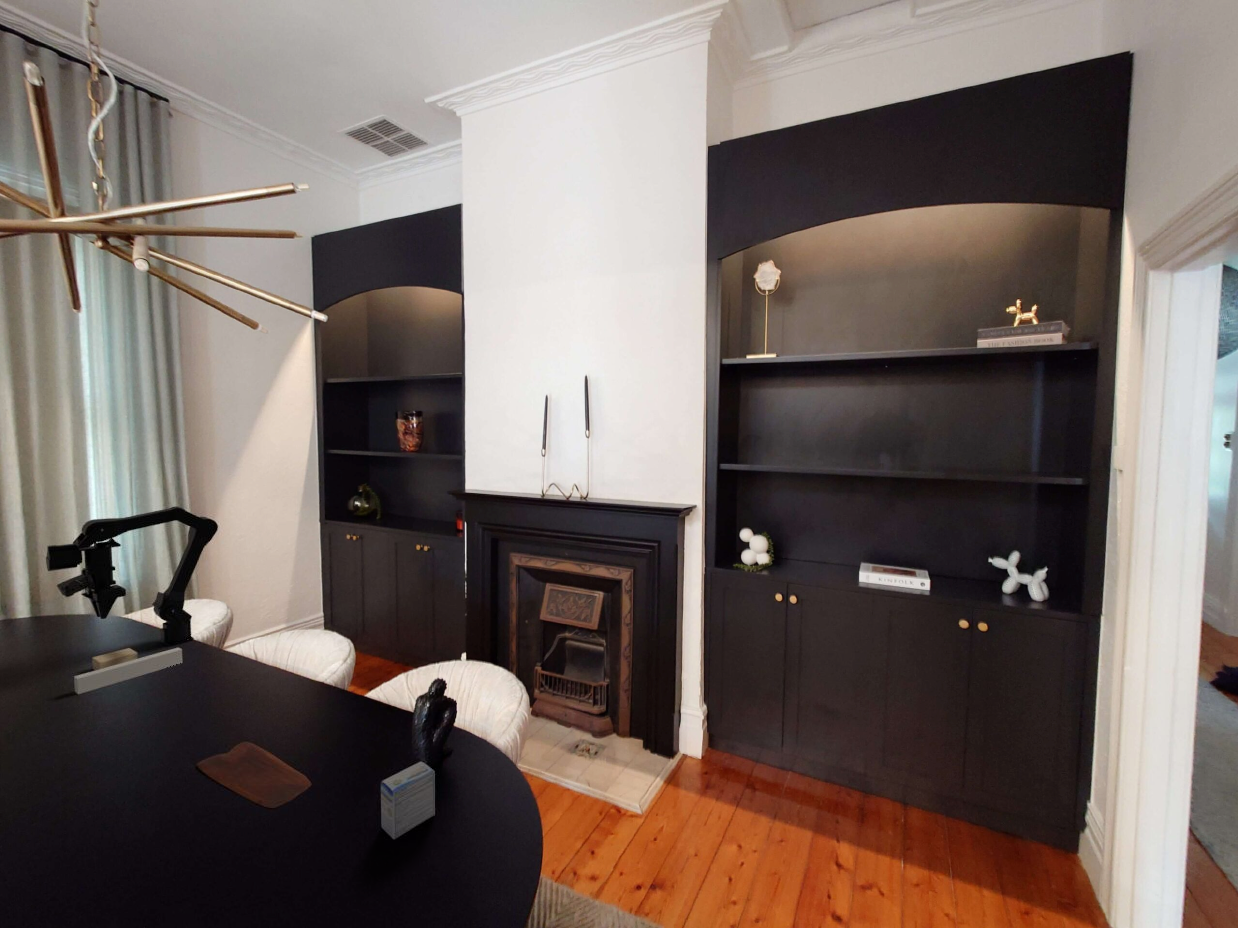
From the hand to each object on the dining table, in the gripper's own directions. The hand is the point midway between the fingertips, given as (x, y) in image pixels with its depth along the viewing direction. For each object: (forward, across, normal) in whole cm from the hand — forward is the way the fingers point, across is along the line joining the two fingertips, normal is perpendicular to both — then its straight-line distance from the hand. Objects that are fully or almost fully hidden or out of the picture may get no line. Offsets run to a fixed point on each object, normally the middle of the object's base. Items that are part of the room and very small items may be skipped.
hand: (101, 617), depth 160 cm
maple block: (+12, +9, 0) cm, 15 cm away
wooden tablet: (+13, +92, -3) cm, 93 cm away
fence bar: (+12, +20, 0) cm, 24 cm away
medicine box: (+12, +128, +5) cm, 129 cm away
